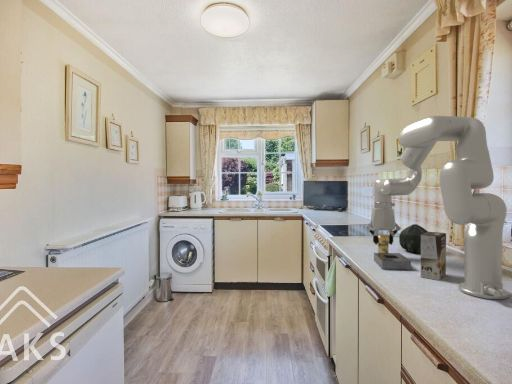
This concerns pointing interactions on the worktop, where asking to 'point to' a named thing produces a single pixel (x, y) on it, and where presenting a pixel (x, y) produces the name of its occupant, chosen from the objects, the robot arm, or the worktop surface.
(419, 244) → the squash
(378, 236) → the end cover
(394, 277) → the worktop surface
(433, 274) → the coffee box
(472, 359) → the worktop surface
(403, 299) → the worktop surface
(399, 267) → the block
